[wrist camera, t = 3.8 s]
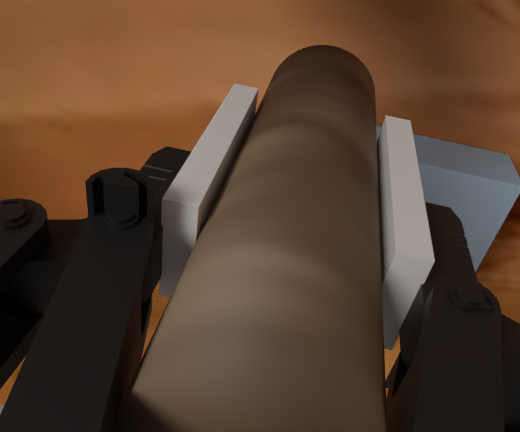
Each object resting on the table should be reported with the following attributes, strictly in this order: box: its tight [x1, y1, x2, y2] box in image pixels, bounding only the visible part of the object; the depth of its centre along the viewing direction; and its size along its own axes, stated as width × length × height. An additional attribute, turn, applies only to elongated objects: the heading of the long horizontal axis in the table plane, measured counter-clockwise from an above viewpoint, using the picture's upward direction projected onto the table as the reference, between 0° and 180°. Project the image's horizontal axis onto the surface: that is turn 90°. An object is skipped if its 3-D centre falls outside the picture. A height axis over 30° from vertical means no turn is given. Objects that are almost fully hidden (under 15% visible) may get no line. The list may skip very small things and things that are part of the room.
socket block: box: [376, 125, 520, 272], centre depth 34 cm, size 14×14×4 cm
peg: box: [117, 45, 387, 432], centre depth 13 cm, size 4×4×14 cm
